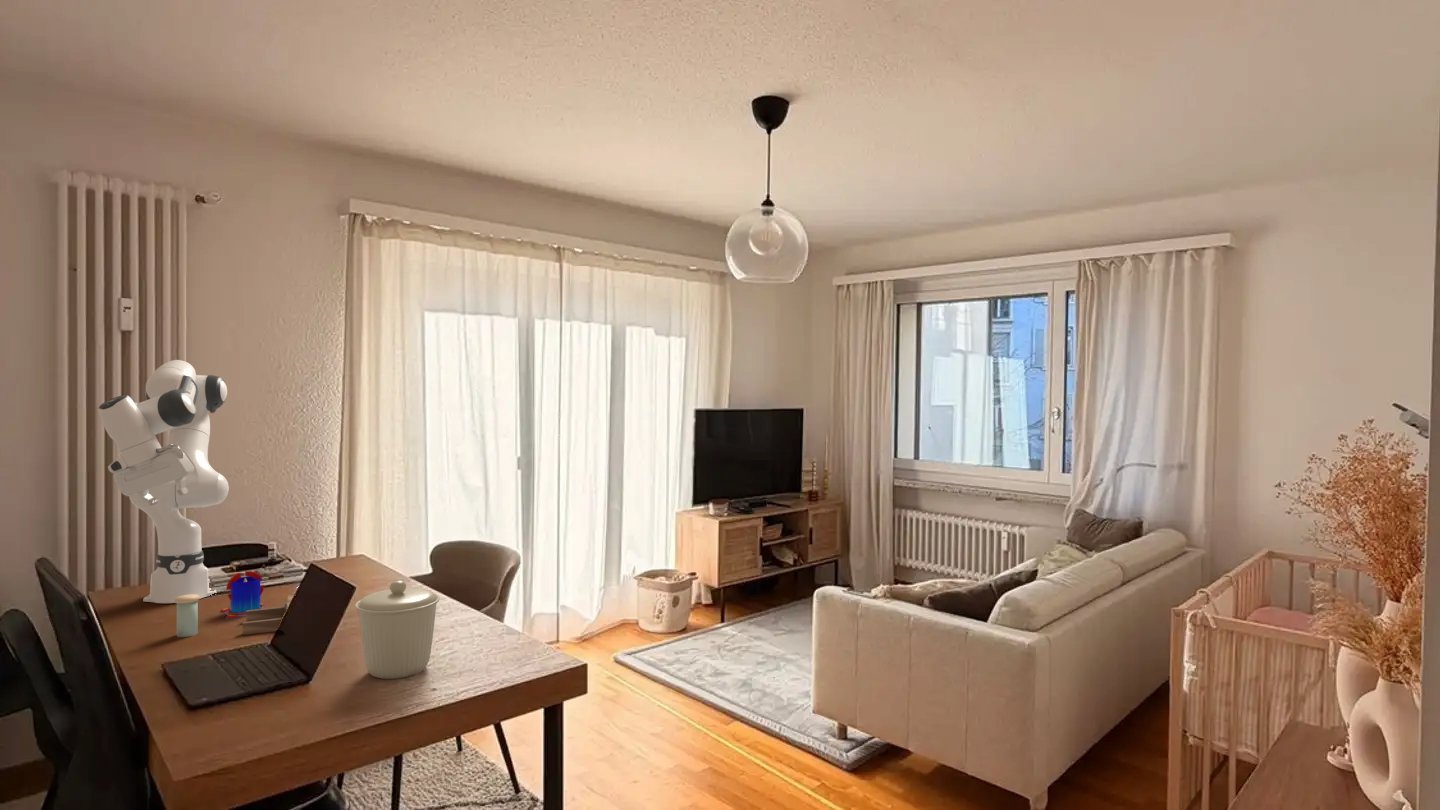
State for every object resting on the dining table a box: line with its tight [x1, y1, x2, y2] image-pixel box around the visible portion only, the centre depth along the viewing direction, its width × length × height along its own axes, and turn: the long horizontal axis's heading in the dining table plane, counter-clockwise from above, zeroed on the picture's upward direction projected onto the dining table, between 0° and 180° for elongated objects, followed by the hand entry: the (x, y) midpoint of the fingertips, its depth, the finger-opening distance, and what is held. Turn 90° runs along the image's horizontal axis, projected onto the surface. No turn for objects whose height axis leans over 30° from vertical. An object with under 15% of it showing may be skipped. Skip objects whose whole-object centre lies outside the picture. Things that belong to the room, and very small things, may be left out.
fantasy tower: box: [219, 570, 265, 620], centre depth 227 cm, size 12×12×12 cm
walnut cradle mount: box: [242, 593, 294, 636], centre depth 215 cm, size 16×12×6 cm
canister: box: [354, 580, 440, 680], centre depth 180 cm, size 18×18×21 cm
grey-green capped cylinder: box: [174, 594, 200, 638], centre depth 206 cm, size 5×5×10 cm
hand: (169, 499), depth 212 cm, fingers open, 8 cm apart
